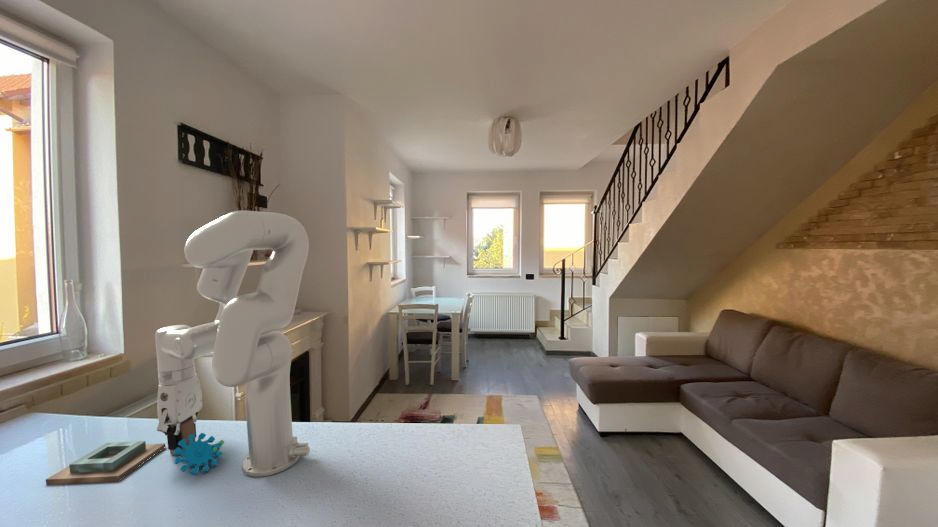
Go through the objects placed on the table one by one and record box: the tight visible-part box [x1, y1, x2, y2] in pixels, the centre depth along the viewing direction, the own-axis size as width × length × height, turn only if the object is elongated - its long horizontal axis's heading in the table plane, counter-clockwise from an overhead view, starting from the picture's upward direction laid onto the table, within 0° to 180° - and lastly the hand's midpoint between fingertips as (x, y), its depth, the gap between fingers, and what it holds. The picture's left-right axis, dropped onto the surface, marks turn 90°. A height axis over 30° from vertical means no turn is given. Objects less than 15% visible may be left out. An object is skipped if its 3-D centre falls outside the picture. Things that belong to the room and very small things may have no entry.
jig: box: [45, 440, 166, 485], centre depth 94 cm, size 16×14×3 cm
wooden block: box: [169, 418, 197, 455], centre depth 99 cm, size 4×4×8 cm
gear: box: [173, 432, 225, 476], centre depth 92 cm, size 11×6×10 cm
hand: (182, 442), depth 99 cm, fingers closed on wooden block, 4 cm apart
